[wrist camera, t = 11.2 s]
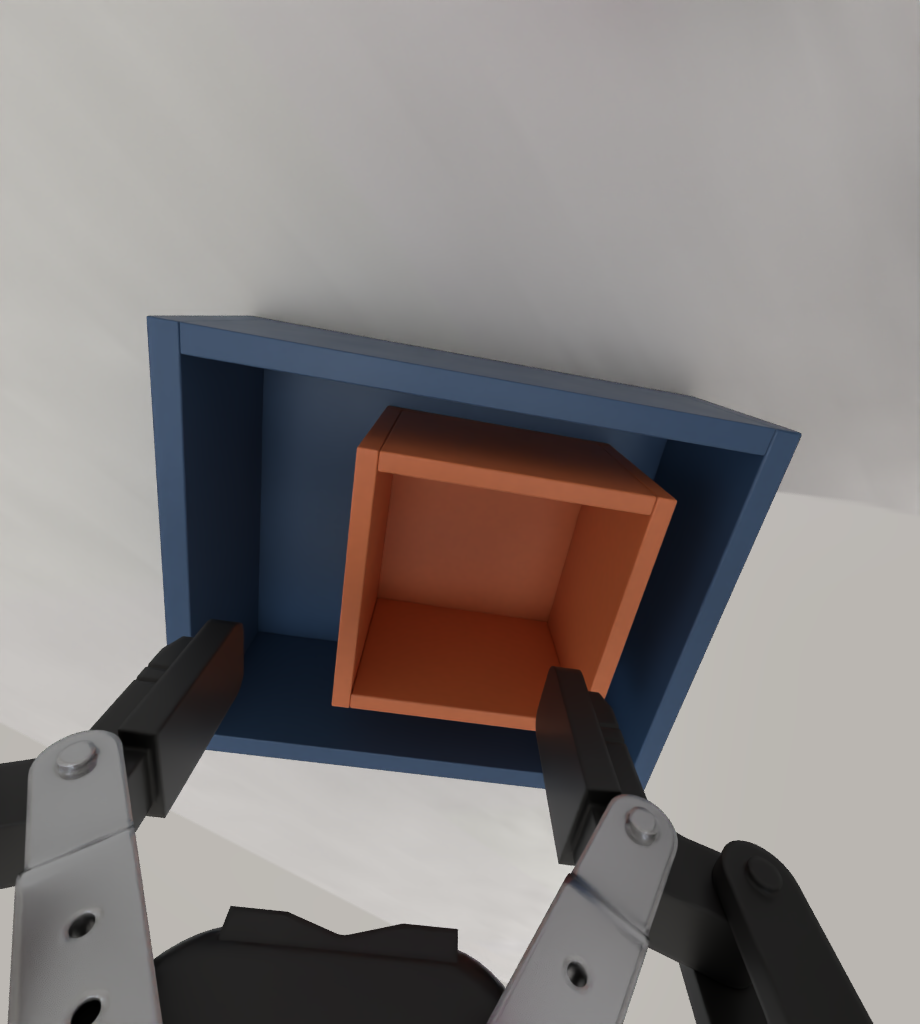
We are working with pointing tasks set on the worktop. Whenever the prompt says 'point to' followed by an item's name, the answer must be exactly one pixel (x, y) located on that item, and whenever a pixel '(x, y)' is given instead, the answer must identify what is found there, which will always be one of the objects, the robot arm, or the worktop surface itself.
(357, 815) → the worktop surface
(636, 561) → the small bin
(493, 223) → the worktop surface
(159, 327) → the big bin
